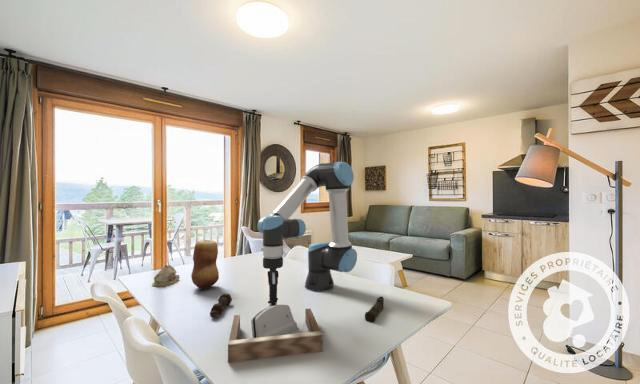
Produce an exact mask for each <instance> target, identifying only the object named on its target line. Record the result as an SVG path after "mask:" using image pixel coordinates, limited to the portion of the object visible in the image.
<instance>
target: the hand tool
mask: <svg viewBox="0 0 640 384" xmlns="http://www.w3.org/2000/svg"><path fill="white" fill-rule="evenodd" d="M375 300H376V301H375V303H374V304H373V306H372V307H371V308H369V310H368V311H367V312H365V313H364V320H365V321H366V322H369V323H374V322H375V321H376V317H377V316H378V315H379V314H380V312H381V311H383V309H384V305H385V299H384V296H379V297H378V298H376V299H375Z"/></svg>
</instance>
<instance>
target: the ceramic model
mask: <svg viewBox="0 0 640 384" xmlns="http://www.w3.org/2000/svg"><path fill="white" fill-rule="evenodd" d="M180 278H181V277H180V275H179V274H177V270H176V269H175V268H174V266H173V265H169V264H165V265H163V267H162V268H161V269H160V270H159V271H158V273H157V274H155V276H153V281H154V282H152V284H151V286H152V287H166V286H171V285H174V284H176V283H177V282H178V281H179V280H180Z"/></svg>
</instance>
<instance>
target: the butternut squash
mask: <svg viewBox="0 0 640 384" xmlns="http://www.w3.org/2000/svg"><path fill="white" fill-rule="evenodd" d="M218 255H219V247H218V242H217V241H216V240H214V239H213V240H211V239H200V240H198V241H197V242H196V243H195V245H194V249H193V255H192V260H193V267H192V271H191V274H190V275H191V276H190V277H191V282H192V284H194V285H195V287H197V288H198V289H199V290H201V291H203V290H206V289H209V288H211V287H213V286H214V285H215V284H216V283H217V282H218V281H219V279H220V277H219V276H220V275H219V273H220V272H219V269H218V266H217V260H218Z"/></svg>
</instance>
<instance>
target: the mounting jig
mask: <svg viewBox="0 0 640 384" xmlns="http://www.w3.org/2000/svg"><path fill="white" fill-rule="evenodd" d="M304 313H305V321H304V322H305V325H306V327H307V330H308V332H297V333H290V334H288V333H286V334H284V335H278V336H269V337H259V338H253V337H252V338H242V339H239V338H240V331H241V314H234V315H233V320H232V325H231V329H230V333H229V339H228V343H227V363H228V364H229V363H238V362H245V361H253V360H261V359H262V360H263V359H268V358H269V359H270V358H278V357H284V356H287V357H288V356H294V355H302V354H311V353H312V354H313V353H320V352H323V349H324V348H323V347H324V346H323V345H324V341H323V340H324V339H323V338H324V337H323V332H322V331H321V329H320V326H319V323H318V322H317V319H316V318H315V315H314V313H313V311H312V308H305V311H304Z"/></svg>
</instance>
